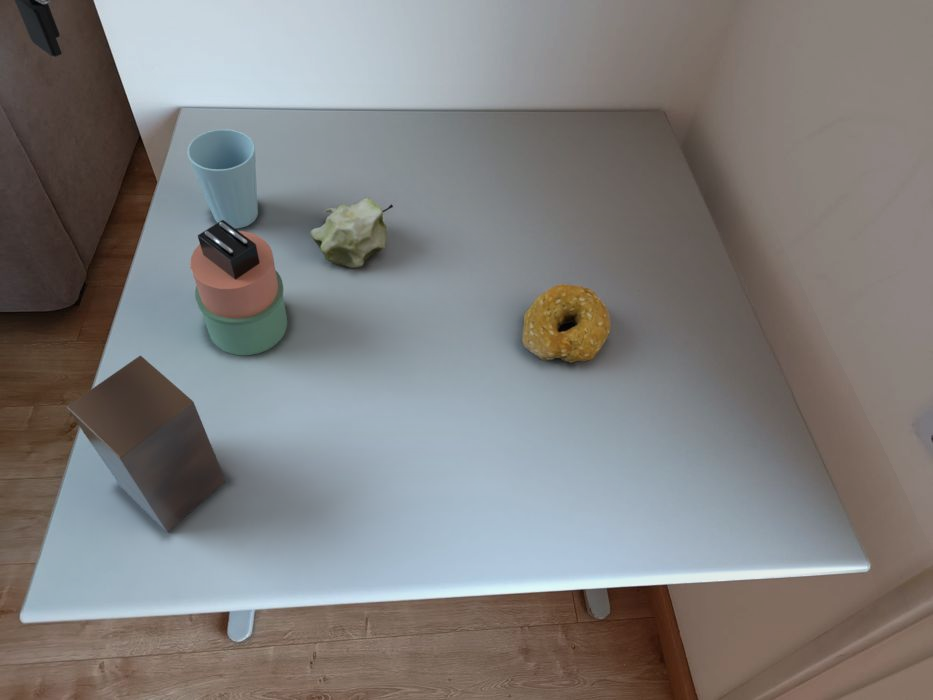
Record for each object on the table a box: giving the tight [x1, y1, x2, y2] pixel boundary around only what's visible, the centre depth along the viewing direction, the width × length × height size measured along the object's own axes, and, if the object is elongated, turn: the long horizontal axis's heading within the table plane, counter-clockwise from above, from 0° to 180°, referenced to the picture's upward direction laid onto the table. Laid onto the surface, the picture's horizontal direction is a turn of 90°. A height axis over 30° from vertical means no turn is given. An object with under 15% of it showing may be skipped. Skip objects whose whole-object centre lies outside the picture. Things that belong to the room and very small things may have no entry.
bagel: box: [521, 283, 611, 363], centre depth 84 cm, size 10×11×5 cm
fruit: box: [310, 197, 394, 269], centre depth 88 cm, size 9×9×8 cm
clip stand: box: [66, 355, 227, 533], centre depth 64 cm, size 7×7×15 cm
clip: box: [197, 220, 260, 280], centre depth 72 cm, size 3×5×3 cm, turn 51°
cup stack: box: [189, 230, 288, 356], centre depth 78 cm, size 9×9×11 cm
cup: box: [186, 128, 259, 230], centre depth 88 cm, size 8×8×10 cm
